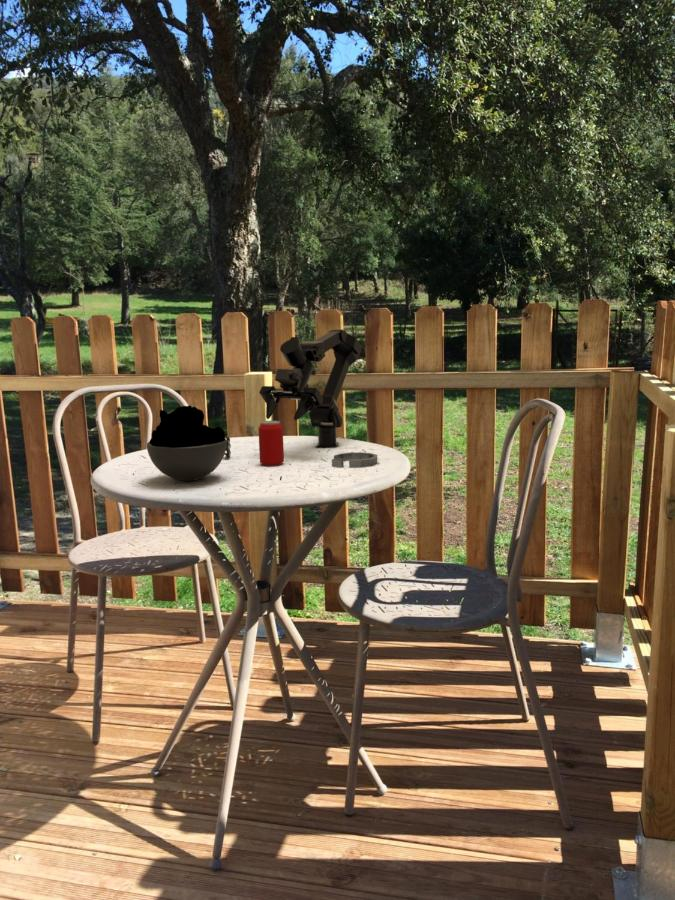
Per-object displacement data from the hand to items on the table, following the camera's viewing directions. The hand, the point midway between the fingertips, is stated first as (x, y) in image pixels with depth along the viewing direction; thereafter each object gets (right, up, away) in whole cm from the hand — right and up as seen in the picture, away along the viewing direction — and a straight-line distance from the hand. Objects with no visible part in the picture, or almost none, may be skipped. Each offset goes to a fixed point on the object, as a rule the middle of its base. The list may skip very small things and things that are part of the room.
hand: (280, 418), depth 215 cm
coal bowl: (-22, -17, -21) cm, 35 cm away
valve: (-22, -12, +8) cm, 26 cm away
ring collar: (+21, -13, -4) cm, 25 cm away
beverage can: (-2, -13, -3) cm, 14 cm away
